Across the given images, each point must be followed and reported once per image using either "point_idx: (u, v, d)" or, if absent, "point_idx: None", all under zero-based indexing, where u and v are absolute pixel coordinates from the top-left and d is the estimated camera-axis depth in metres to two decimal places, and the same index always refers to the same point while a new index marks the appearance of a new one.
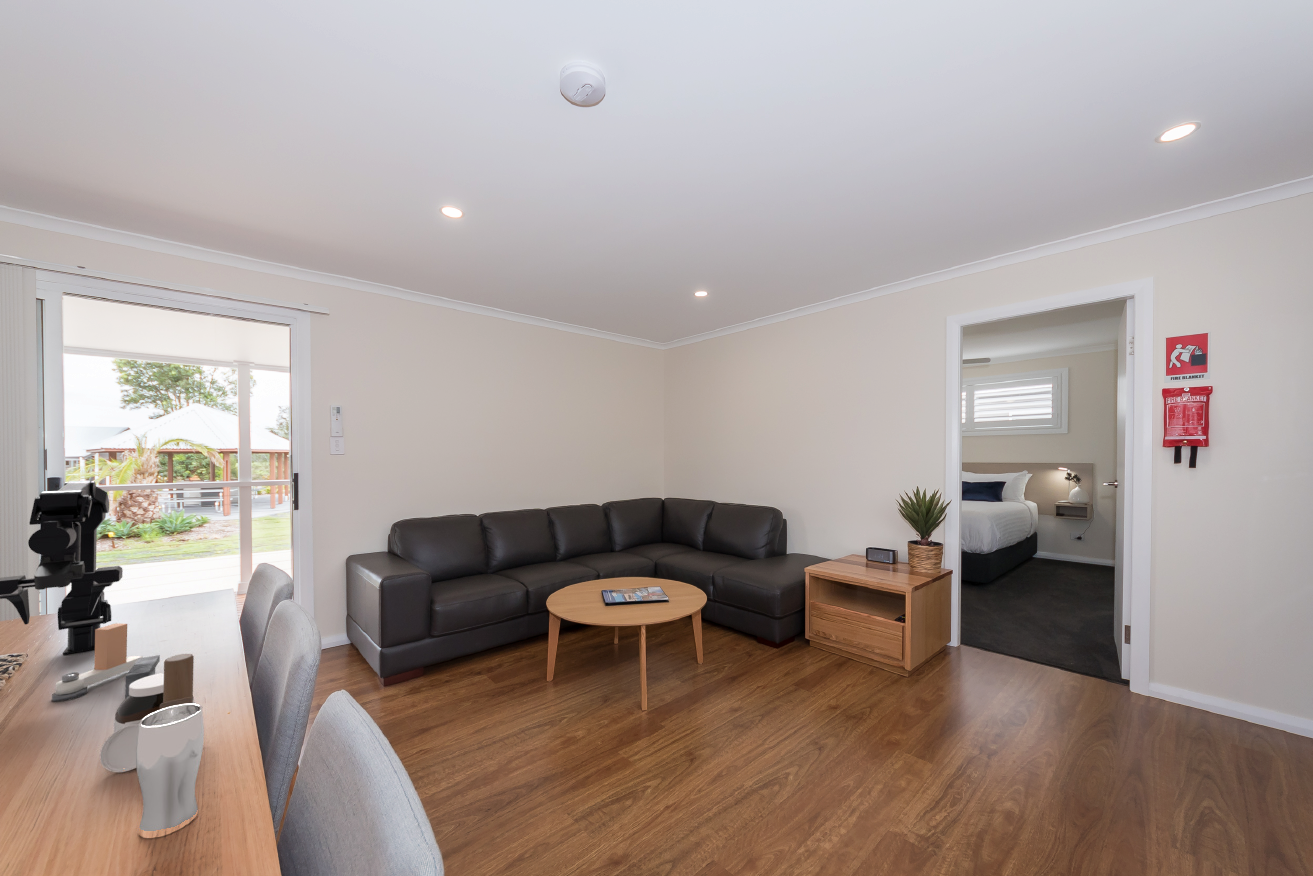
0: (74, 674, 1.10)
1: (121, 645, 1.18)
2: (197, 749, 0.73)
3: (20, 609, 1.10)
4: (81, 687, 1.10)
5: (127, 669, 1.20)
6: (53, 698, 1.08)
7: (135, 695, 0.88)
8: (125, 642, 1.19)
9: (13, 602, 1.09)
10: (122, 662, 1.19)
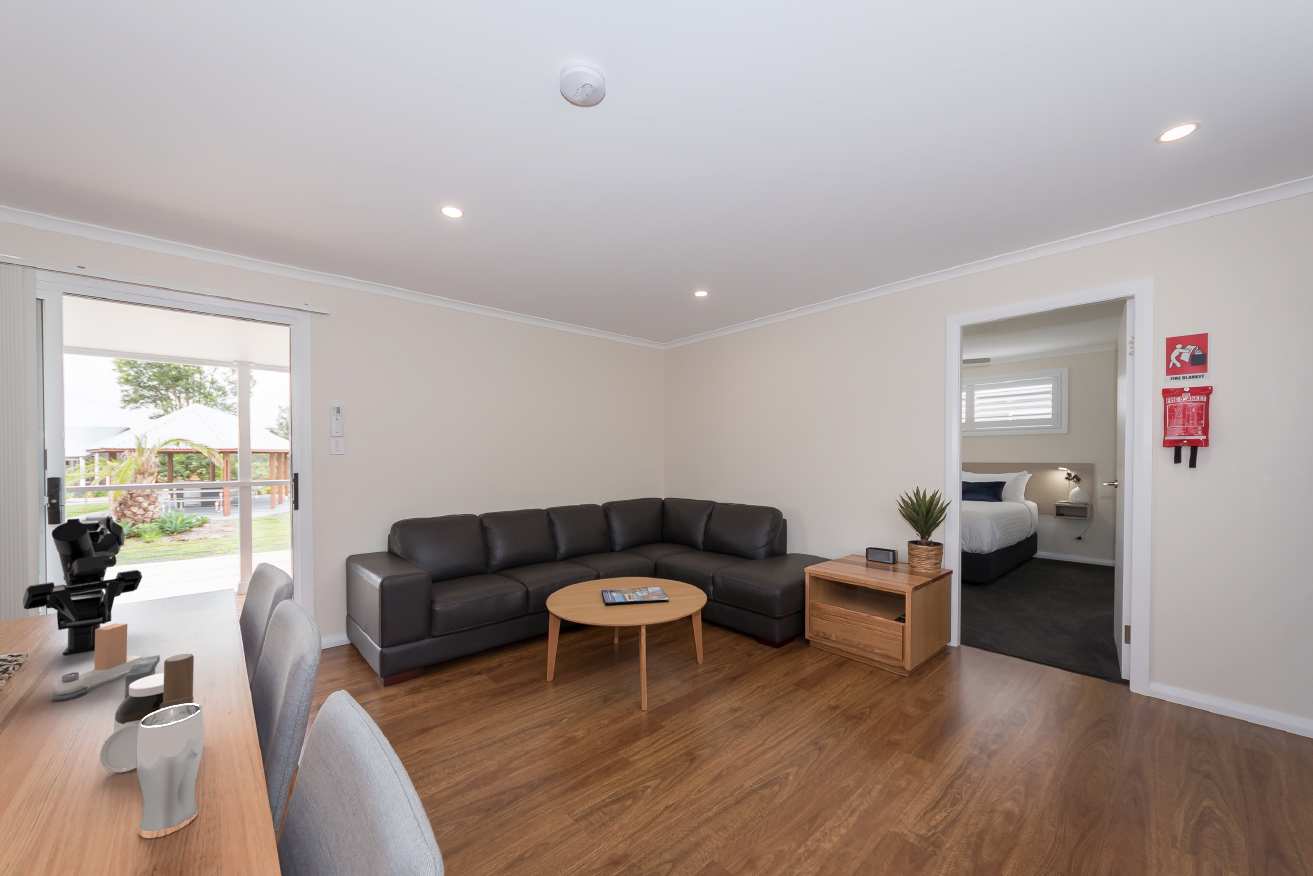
0: (74, 674, 1.10)
1: (121, 645, 1.18)
2: (197, 749, 0.73)
3: (69, 605, 1.20)
4: (81, 687, 1.10)
5: (127, 669, 1.20)
6: (53, 698, 1.08)
7: (135, 695, 0.88)
8: (125, 642, 1.19)
9: (62, 599, 1.20)
10: (122, 662, 1.19)
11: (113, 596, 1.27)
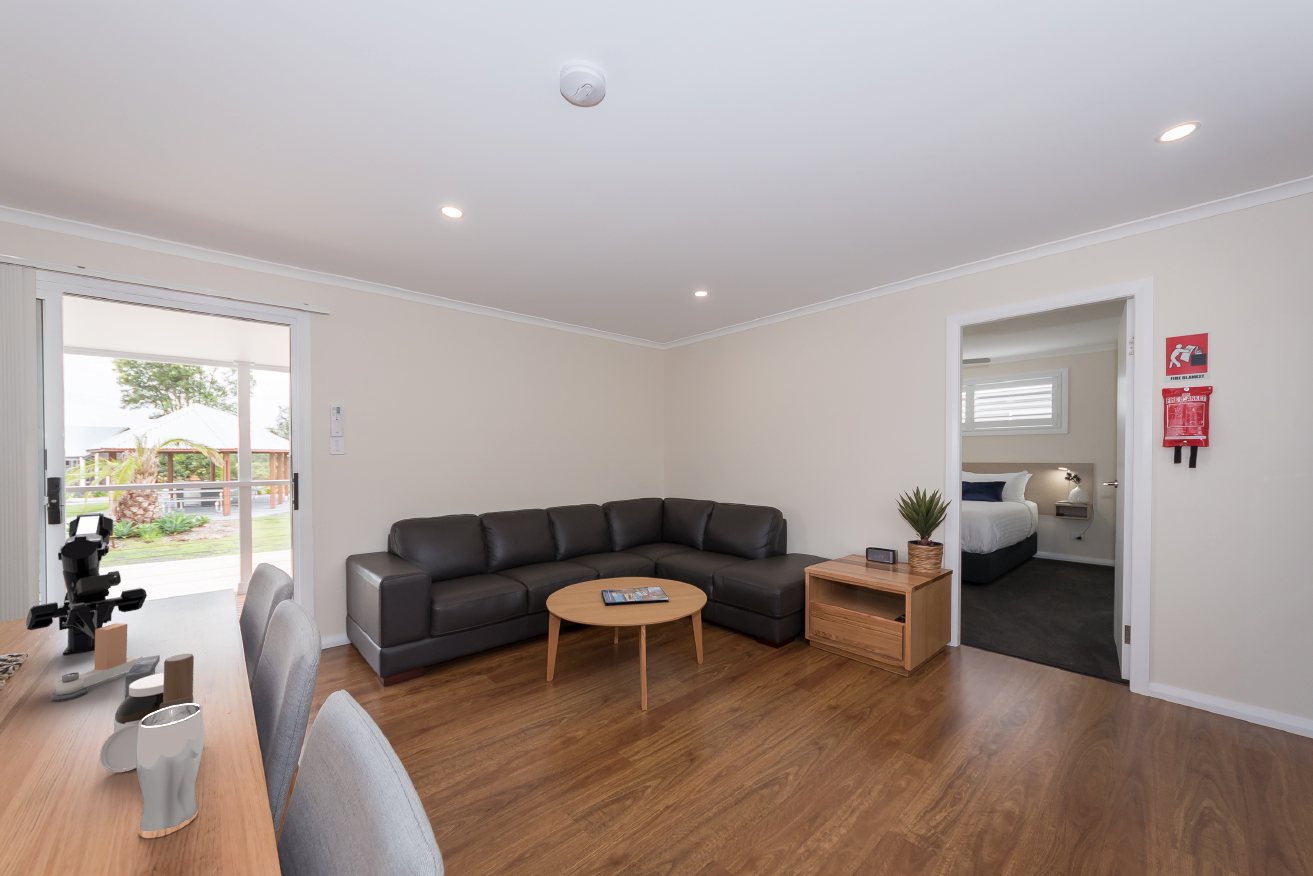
0: (74, 674, 1.10)
1: (121, 645, 1.18)
2: (197, 749, 0.73)
3: (89, 623, 1.20)
4: (81, 687, 1.10)
5: (127, 669, 1.20)
6: (53, 698, 1.08)
7: (135, 695, 0.88)
8: (125, 642, 1.19)
9: (82, 617, 1.20)
10: (122, 662, 1.19)
11: (102, 618, 1.22)
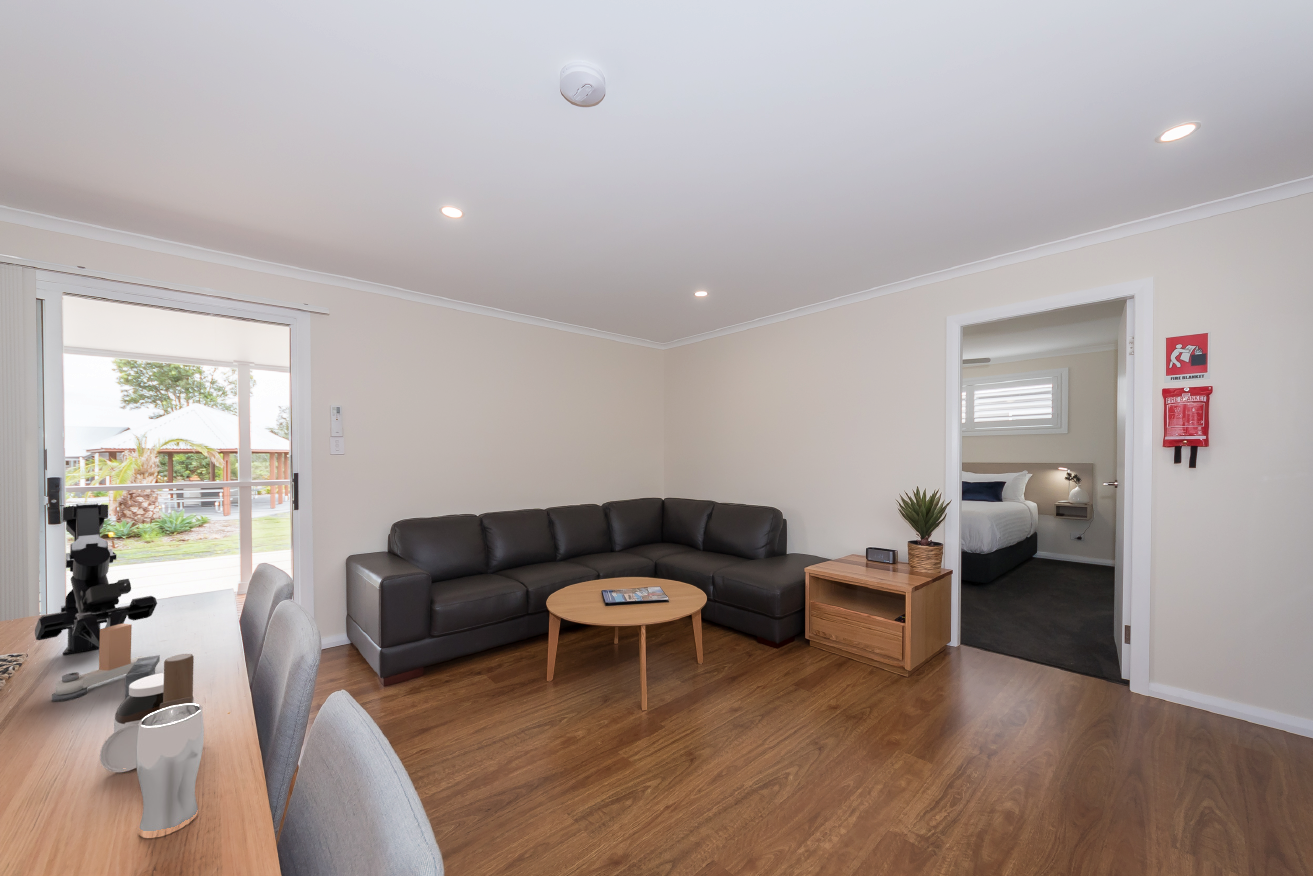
0: (74, 674, 1.10)
1: (125, 646, 1.18)
2: (197, 749, 0.73)
3: (97, 633, 1.17)
4: (79, 688, 1.10)
5: None
6: (53, 698, 1.08)
7: (135, 695, 0.88)
8: (129, 643, 1.19)
9: (89, 627, 1.17)
10: (126, 663, 1.18)
11: None
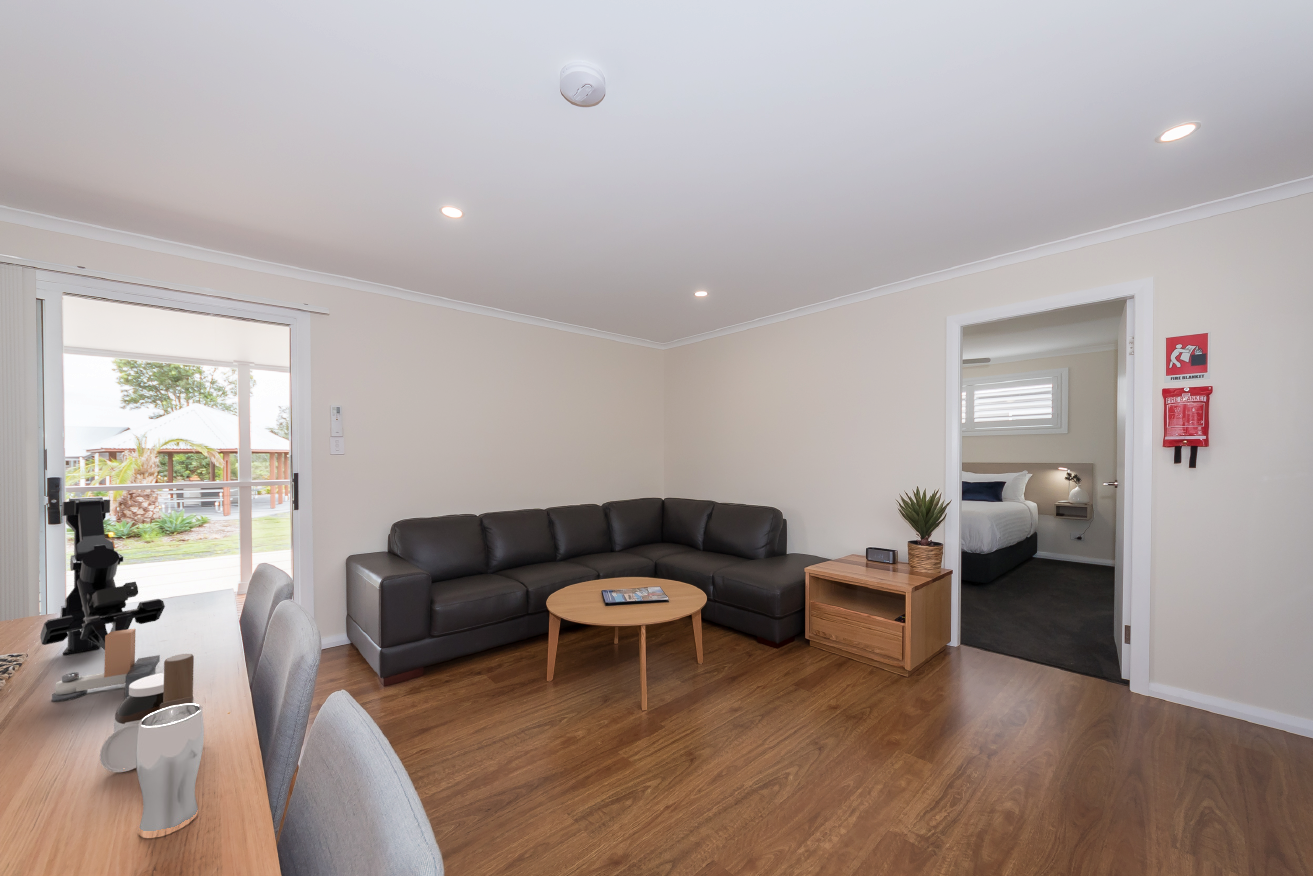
0: (74, 674, 1.10)
1: (123, 654, 1.13)
2: (197, 749, 0.73)
3: None
4: (70, 691, 1.09)
5: None
6: (53, 698, 1.08)
7: (135, 695, 0.88)
8: (128, 651, 1.14)
9: (97, 631, 1.14)
10: (124, 672, 1.13)
11: None
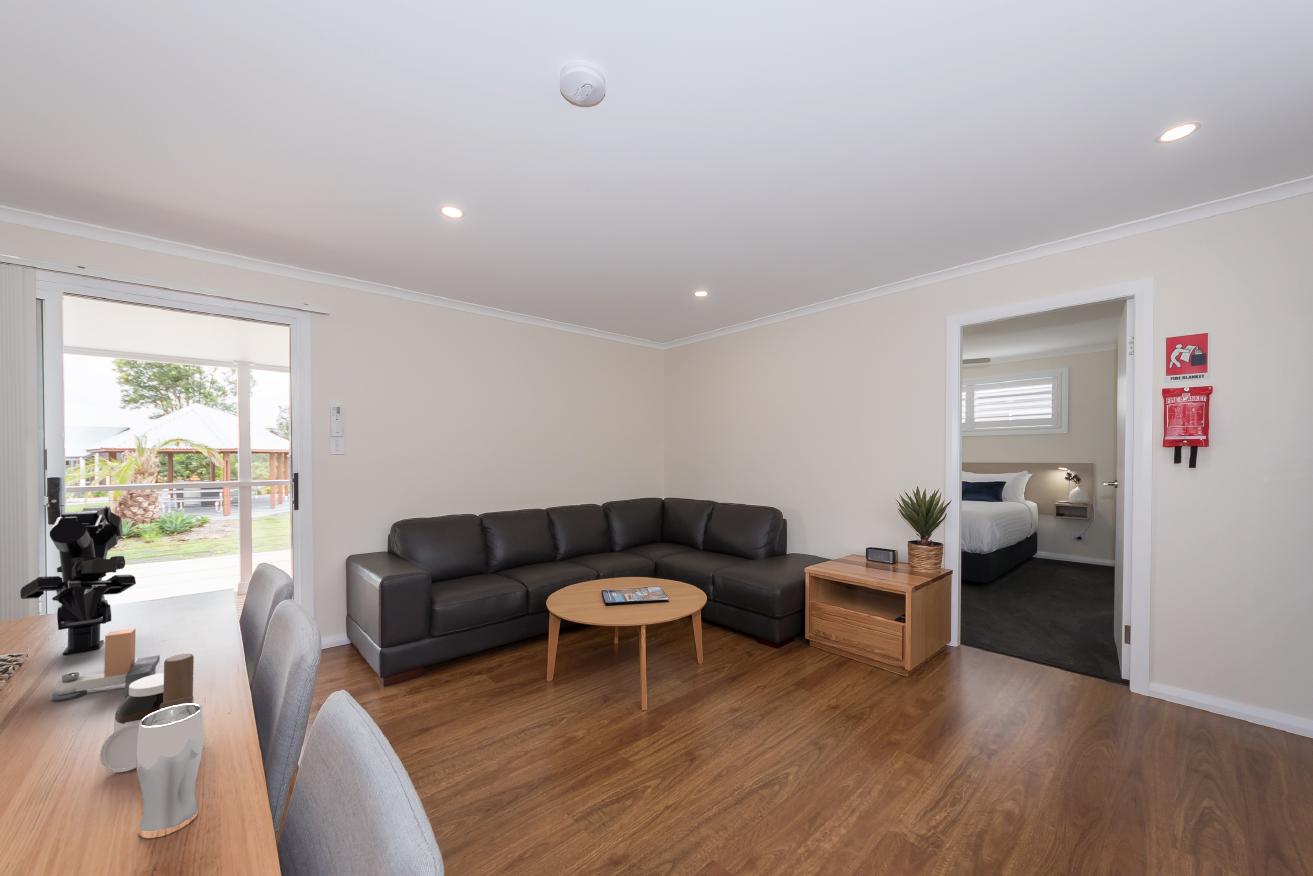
0: (74, 674, 1.10)
1: (123, 654, 1.13)
2: (197, 749, 0.73)
3: (81, 603, 1.22)
4: (70, 691, 1.09)
5: None
6: (53, 698, 1.08)
7: (135, 695, 0.88)
8: (128, 651, 1.14)
9: (76, 596, 1.22)
10: (124, 672, 1.13)
11: (97, 600, 1.25)
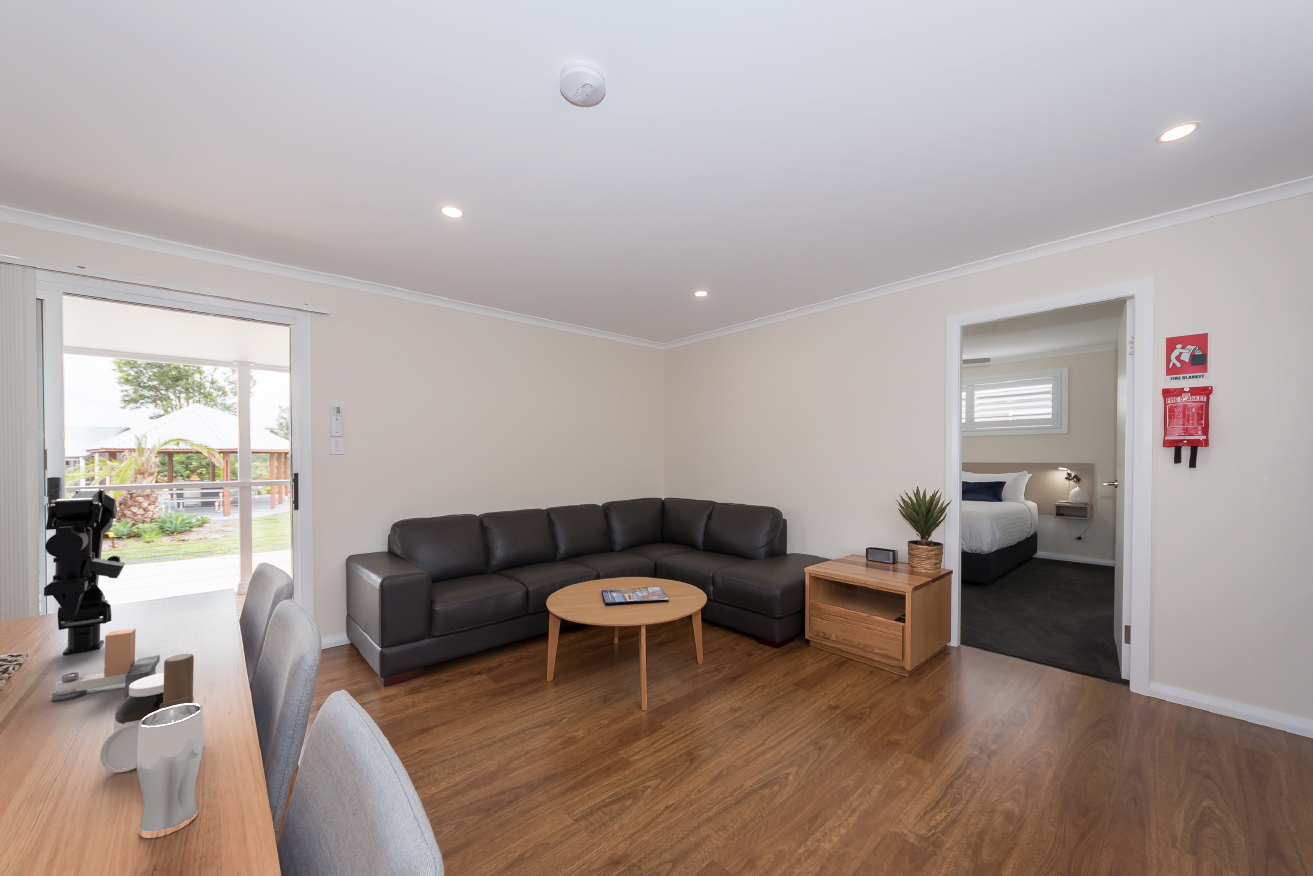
0: (74, 674, 1.10)
1: (123, 654, 1.13)
2: (197, 749, 0.73)
3: (78, 602, 1.24)
4: (70, 691, 1.09)
5: None
6: (53, 698, 1.08)
7: (135, 695, 0.88)
8: (128, 651, 1.14)
9: (80, 595, 1.24)
10: (124, 672, 1.13)
11: (82, 597, 1.27)
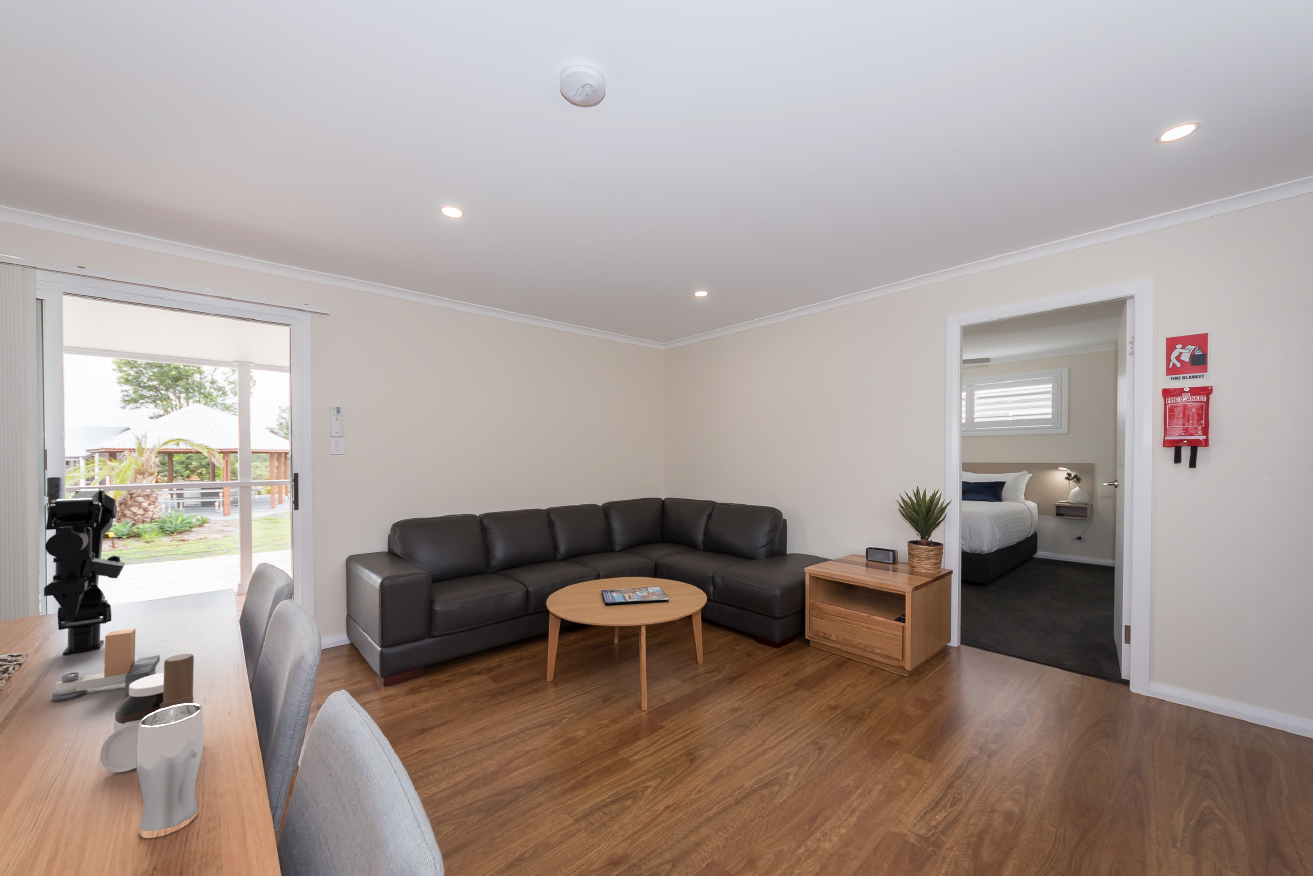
0: (74, 674, 1.10)
1: (123, 654, 1.13)
2: (197, 749, 0.73)
3: (78, 602, 1.24)
4: (70, 691, 1.09)
5: None
6: (53, 698, 1.08)
7: (135, 695, 0.88)
8: (128, 651, 1.14)
9: (80, 595, 1.24)
10: (124, 672, 1.13)
11: (82, 597, 1.27)
